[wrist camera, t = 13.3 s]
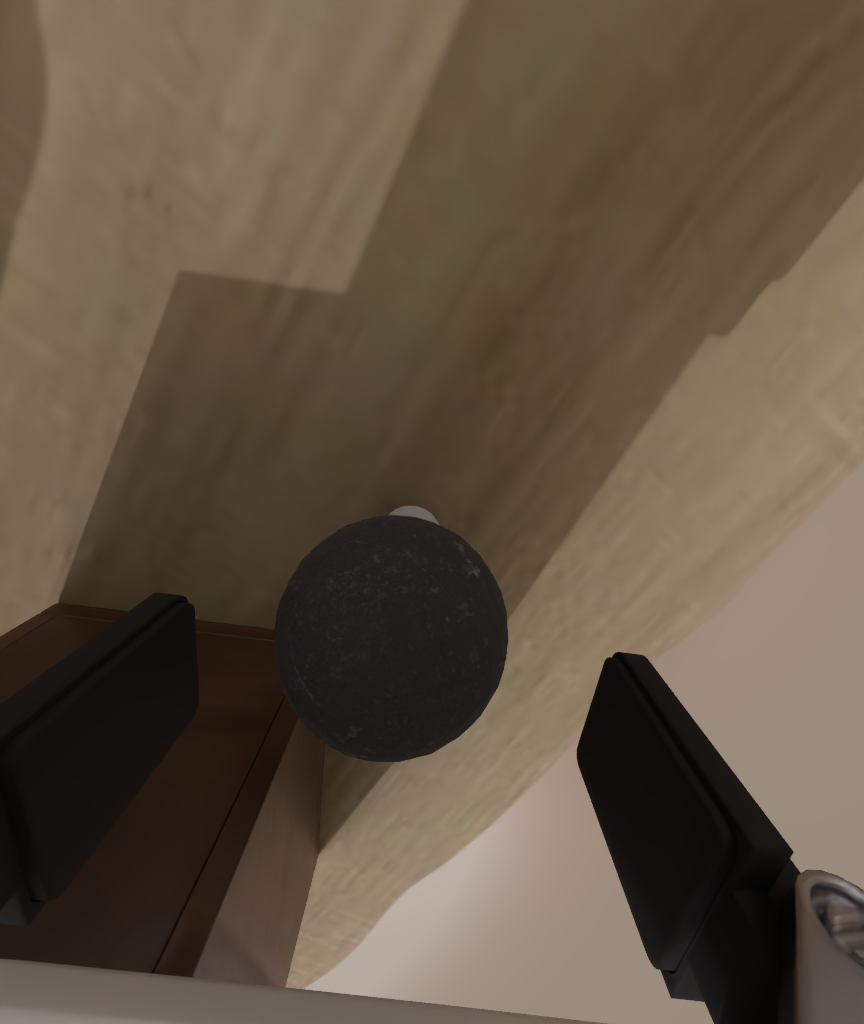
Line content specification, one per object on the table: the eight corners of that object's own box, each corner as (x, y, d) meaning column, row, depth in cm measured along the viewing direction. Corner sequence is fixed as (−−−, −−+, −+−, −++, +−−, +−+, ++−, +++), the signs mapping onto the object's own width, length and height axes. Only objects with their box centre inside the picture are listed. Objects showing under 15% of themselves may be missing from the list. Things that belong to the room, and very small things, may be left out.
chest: (55, 602, 18) (-492, 926, 7) (331, 636, 19) (186, 991, 8) (101, 834, 23) (-187, 1226, 12) (317, 857, 24) (217, 1257, 13)
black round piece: (458, 598, 18) (480, 852, 8) (334, 569, 17) (210, 799, 8) (496, 480, 16) (580, 630, 7) (359, 444, 16) (237, 550, 6)
